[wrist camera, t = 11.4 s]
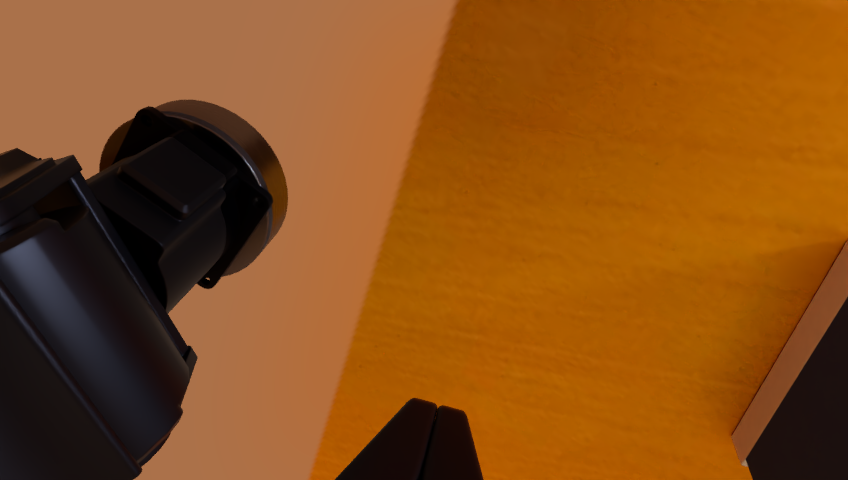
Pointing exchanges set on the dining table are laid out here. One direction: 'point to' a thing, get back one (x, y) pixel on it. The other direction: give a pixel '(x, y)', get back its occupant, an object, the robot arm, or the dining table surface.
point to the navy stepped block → (804, 395)
